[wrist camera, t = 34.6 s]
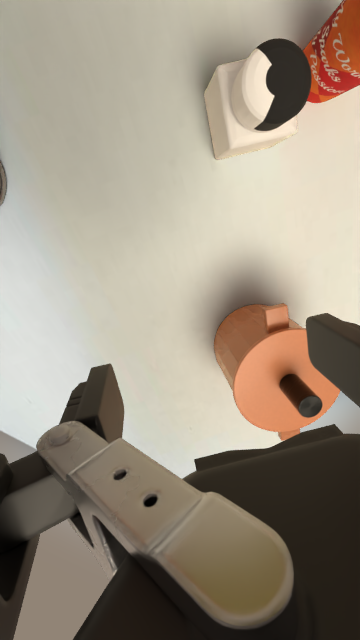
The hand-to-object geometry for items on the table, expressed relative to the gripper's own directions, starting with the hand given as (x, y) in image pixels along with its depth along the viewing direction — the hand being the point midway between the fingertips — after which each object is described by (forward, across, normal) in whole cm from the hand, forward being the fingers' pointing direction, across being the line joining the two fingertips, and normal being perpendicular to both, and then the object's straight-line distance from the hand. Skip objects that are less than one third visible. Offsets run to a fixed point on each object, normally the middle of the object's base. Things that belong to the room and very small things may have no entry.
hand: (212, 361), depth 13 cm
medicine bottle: (+30, -12, -14) cm, 35 cm away
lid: (+19, -10, +14) cm, 25 cm away
